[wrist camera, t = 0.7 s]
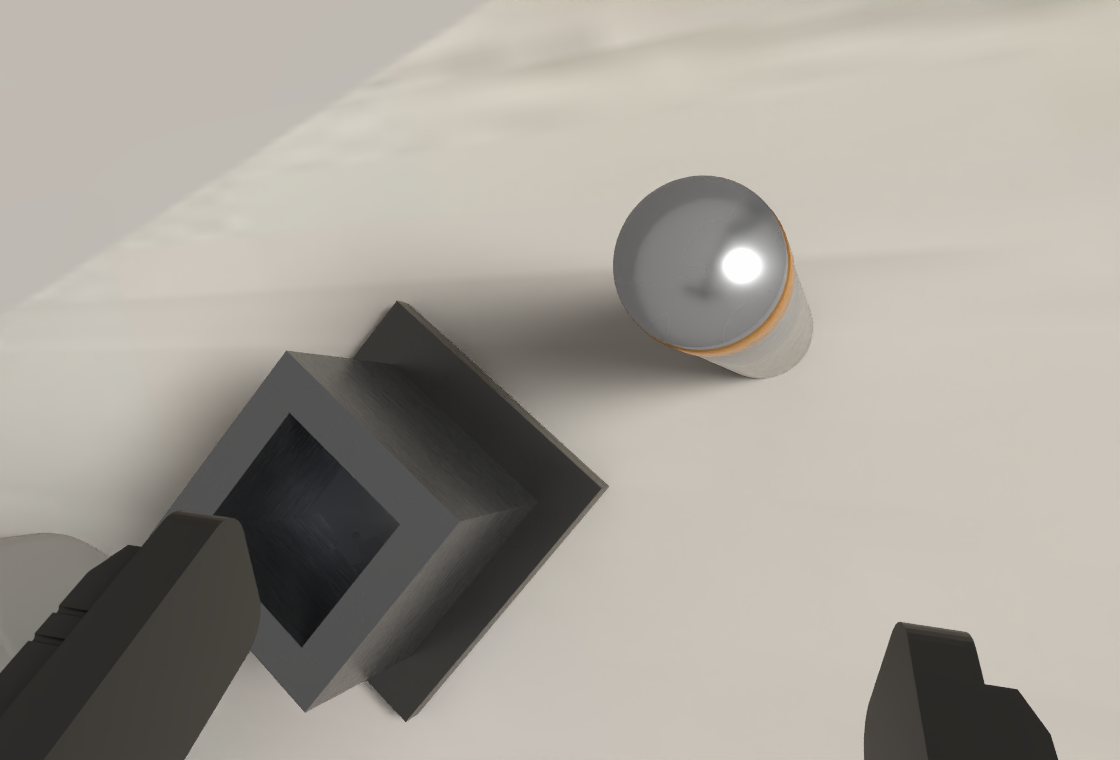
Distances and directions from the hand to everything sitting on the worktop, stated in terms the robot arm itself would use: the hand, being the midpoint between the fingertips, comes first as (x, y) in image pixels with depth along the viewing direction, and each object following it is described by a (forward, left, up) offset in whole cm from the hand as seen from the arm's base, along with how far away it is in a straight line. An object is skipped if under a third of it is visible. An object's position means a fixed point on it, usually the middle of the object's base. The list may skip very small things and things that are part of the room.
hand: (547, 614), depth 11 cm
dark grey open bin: (+9, -9, -22) cm, 26 cm away
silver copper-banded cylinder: (-5, -3, -22) cm, 23 cm away
